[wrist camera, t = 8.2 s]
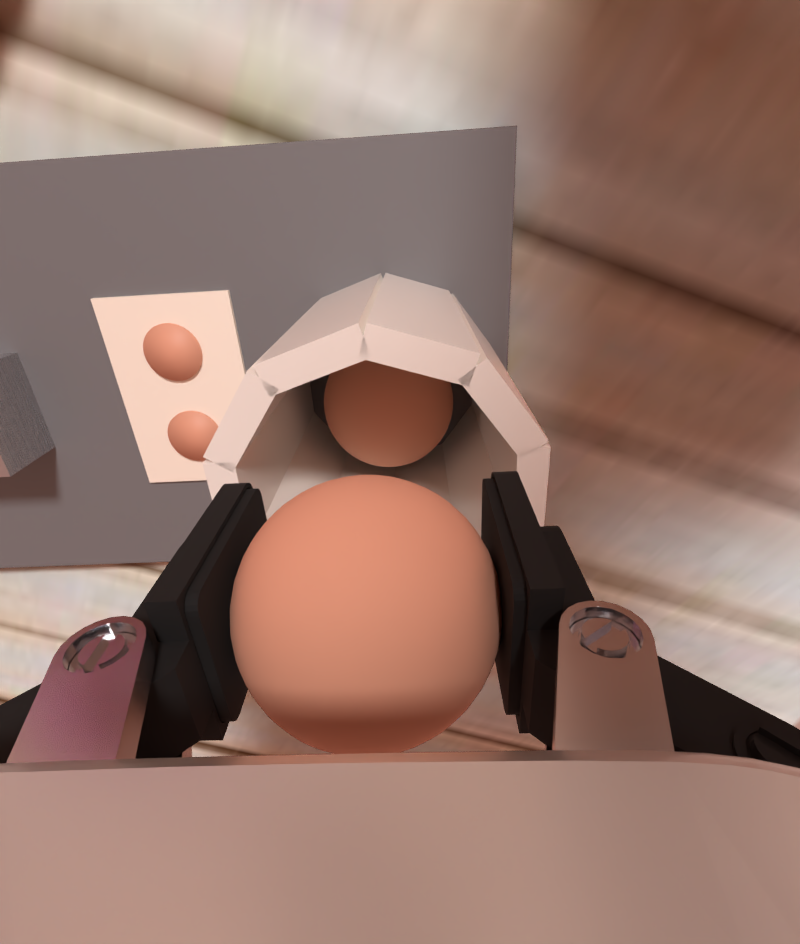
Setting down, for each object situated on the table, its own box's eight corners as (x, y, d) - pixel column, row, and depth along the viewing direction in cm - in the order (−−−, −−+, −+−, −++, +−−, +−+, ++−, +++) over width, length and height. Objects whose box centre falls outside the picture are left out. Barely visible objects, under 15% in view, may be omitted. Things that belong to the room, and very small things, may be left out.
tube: (493, 266, 20) (562, 311, 11) (488, 471, 24) (535, 626, 15) (275, 279, 20) (168, 333, 11) (307, 479, 24) (247, 635, 15)
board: (510, 130, 19) (518, 124, 17) (496, 535, 27) (501, 553, 26) (-210, 181, 20) (-256, 179, 18) (-12, 555, 28) (-34, 573, 27)
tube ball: (447, 321, 21) (458, 351, 16) (449, 434, 23) (459, 487, 19) (326, 328, 21) (303, 359, 16) (339, 439, 23) (323, 493, 19)
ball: (485, 427, 11) (540, 584, 6) (481, 609, 13) (519, 820, 8) (249, 438, 11) (137, 598, 6) (287, 616, 13) (224, 825, 9)
